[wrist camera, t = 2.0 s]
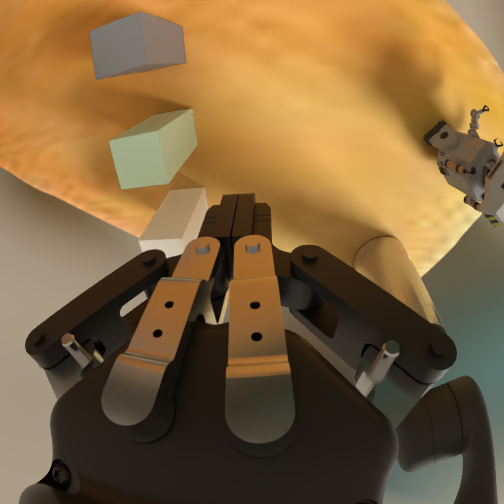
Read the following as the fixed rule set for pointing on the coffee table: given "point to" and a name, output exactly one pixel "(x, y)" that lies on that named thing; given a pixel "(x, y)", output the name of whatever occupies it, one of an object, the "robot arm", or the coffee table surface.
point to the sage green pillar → (154, 149)
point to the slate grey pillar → (136, 45)
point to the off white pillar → (176, 222)
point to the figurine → (471, 166)
